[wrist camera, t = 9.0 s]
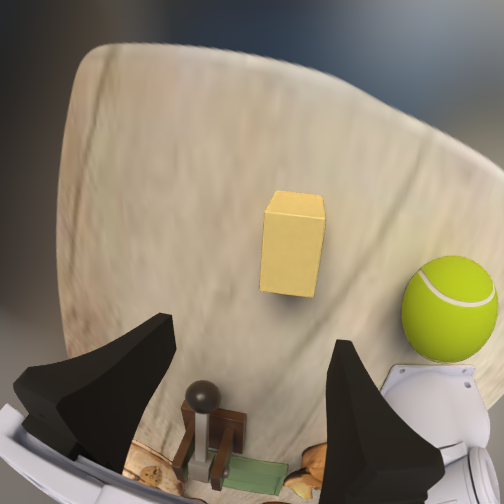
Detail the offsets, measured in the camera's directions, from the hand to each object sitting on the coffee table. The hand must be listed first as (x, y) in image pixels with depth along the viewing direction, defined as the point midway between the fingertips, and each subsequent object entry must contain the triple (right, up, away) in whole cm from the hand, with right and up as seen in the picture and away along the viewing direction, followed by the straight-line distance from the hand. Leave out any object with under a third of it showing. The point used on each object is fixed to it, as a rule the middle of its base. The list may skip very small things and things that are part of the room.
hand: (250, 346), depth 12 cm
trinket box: (-18, -31, +28) cm, 45 cm away
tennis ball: (+14, +2, +7) cm, 15 cm away
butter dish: (-1, -28, +23) cm, 36 cm away
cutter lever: (-5, -13, +14) cm, 20 cm away
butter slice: (+3, +6, +7) cm, 10 cm away
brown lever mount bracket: (-4, -16, +18) cm, 25 cm away
